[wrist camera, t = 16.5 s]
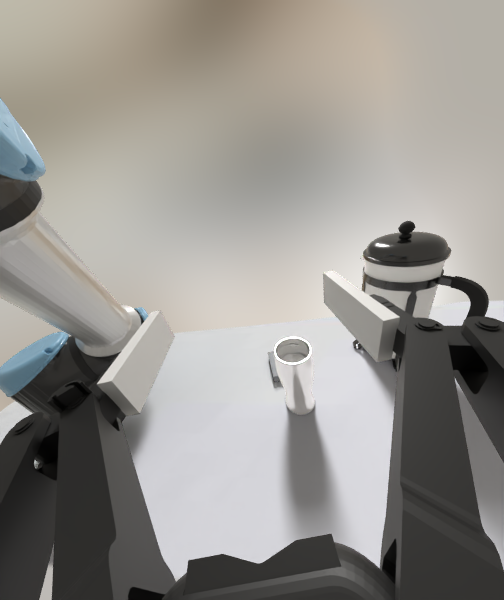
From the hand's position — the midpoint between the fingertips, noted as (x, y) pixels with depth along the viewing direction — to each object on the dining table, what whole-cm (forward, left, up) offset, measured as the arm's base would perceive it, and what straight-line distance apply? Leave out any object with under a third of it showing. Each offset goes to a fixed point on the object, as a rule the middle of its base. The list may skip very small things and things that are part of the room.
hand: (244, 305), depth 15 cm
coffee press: (-1, +36, -32) cm, 49 cm away
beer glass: (-7, +10, -32) cm, 34 cm away
